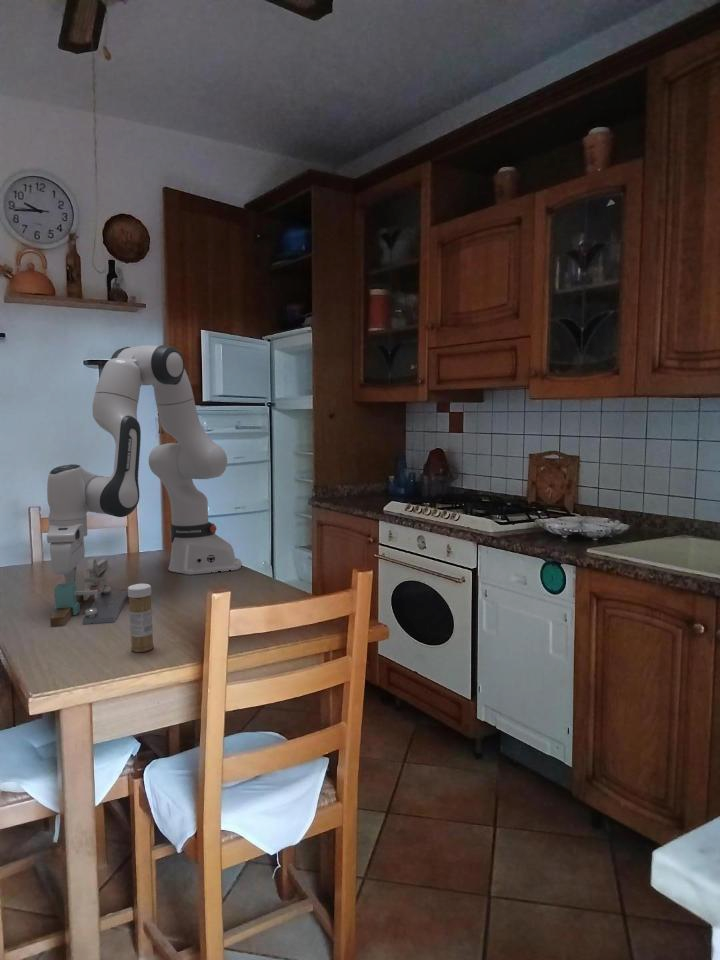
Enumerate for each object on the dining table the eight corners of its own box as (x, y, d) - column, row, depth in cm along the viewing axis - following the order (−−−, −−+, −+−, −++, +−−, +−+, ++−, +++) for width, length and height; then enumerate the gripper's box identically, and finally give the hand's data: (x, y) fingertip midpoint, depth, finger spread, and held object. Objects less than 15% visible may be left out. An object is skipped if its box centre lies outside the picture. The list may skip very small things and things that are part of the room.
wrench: (108, 576, 216) (94, 589, 187) (102, 576, 216) (86, 589, 187) (107, 551, 216) (93, 560, 187) (101, 551, 216) (85, 560, 187)
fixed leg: (108, 594, 182) (107, 569, 182) (106, 598, 178) (104, 573, 178) (68, 597, 180) (67, 571, 180) (65, 601, 176) (63, 575, 176)
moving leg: (100, 608, 170) (98, 581, 169) (97, 613, 166) (95, 585, 165) (57, 611, 168) (55, 584, 167) (53, 616, 164) (51, 588, 163)
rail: (84, 598, 180) (84, 590, 180) (64, 625, 157) (64, 617, 157) (72, 598, 180) (72, 591, 179) (50, 626, 157) (50, 618, 157)
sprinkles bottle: (146, 643, 144) (143, 581, 143) (158, 648, 141) (155, 585, 140) (126, 649, 141) (123, 586, 140) (137, 654, 138) (134, 589, 136)
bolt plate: (128, 595, 183) (127, 585, 182) (114, 622, 159) (113, 610, 159) (100, 596, 181) (100, 586, 181) (82, 624, 158) (82, 612, 158)
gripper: (64, 523, 181) (66, 575, 182) (44, 537, 161) (47, 594, 162) (89, 522, 182) (91, 573, 183) (73, 536, 162) (76, 593, 163)
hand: (70, 583), depth 172 cm, fingers closed
